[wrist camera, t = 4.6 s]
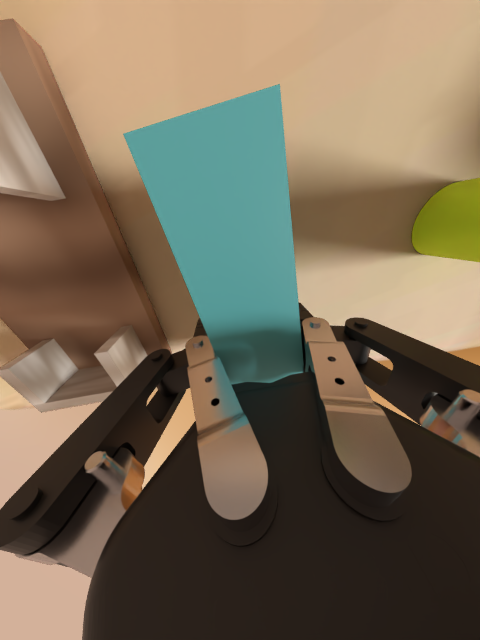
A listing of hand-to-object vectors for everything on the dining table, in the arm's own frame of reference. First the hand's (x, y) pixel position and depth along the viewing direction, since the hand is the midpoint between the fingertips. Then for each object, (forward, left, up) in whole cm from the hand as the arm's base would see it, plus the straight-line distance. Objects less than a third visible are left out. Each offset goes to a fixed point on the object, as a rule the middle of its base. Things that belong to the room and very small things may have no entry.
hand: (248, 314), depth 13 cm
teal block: (-2, 0, -1) cm, 2 cm away
